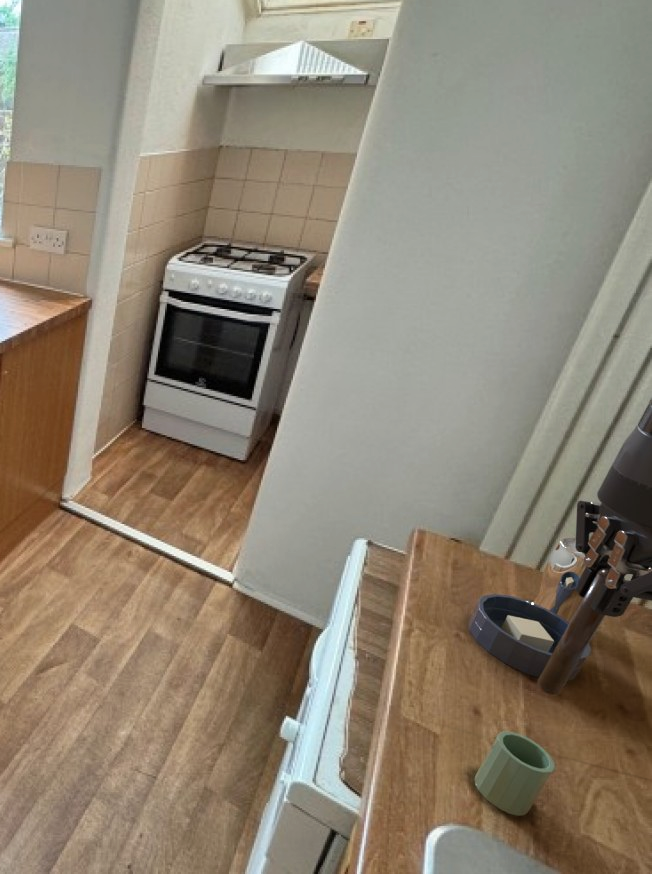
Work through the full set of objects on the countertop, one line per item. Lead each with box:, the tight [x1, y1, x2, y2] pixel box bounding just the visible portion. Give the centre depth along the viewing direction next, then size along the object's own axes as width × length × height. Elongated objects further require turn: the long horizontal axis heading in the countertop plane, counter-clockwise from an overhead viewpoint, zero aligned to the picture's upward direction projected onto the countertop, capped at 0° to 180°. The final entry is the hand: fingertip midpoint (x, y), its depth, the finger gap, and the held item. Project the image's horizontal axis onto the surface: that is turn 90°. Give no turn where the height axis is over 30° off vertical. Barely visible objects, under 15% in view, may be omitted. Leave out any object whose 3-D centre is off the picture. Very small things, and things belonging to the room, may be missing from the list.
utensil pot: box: [474, 730, 556, 817], centre depth 74 cm, size 5×5×9 cm
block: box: [501, 615, 554, 652], centre depth 95 cm, size 4×4×4 cm
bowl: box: [467, 593, 592, 682], centre depth 95 cm, size 13×13×6 cm
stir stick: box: [537, 568, 626, 696], centre depth 70 cm, size 2×2×19 cm
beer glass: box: [531, 536, 610, 623], centre depth 99 cm, size 7×7×15 cm
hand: (595, 603), depth 68 cm, fingers closed on stir stick, 2 cm apart
